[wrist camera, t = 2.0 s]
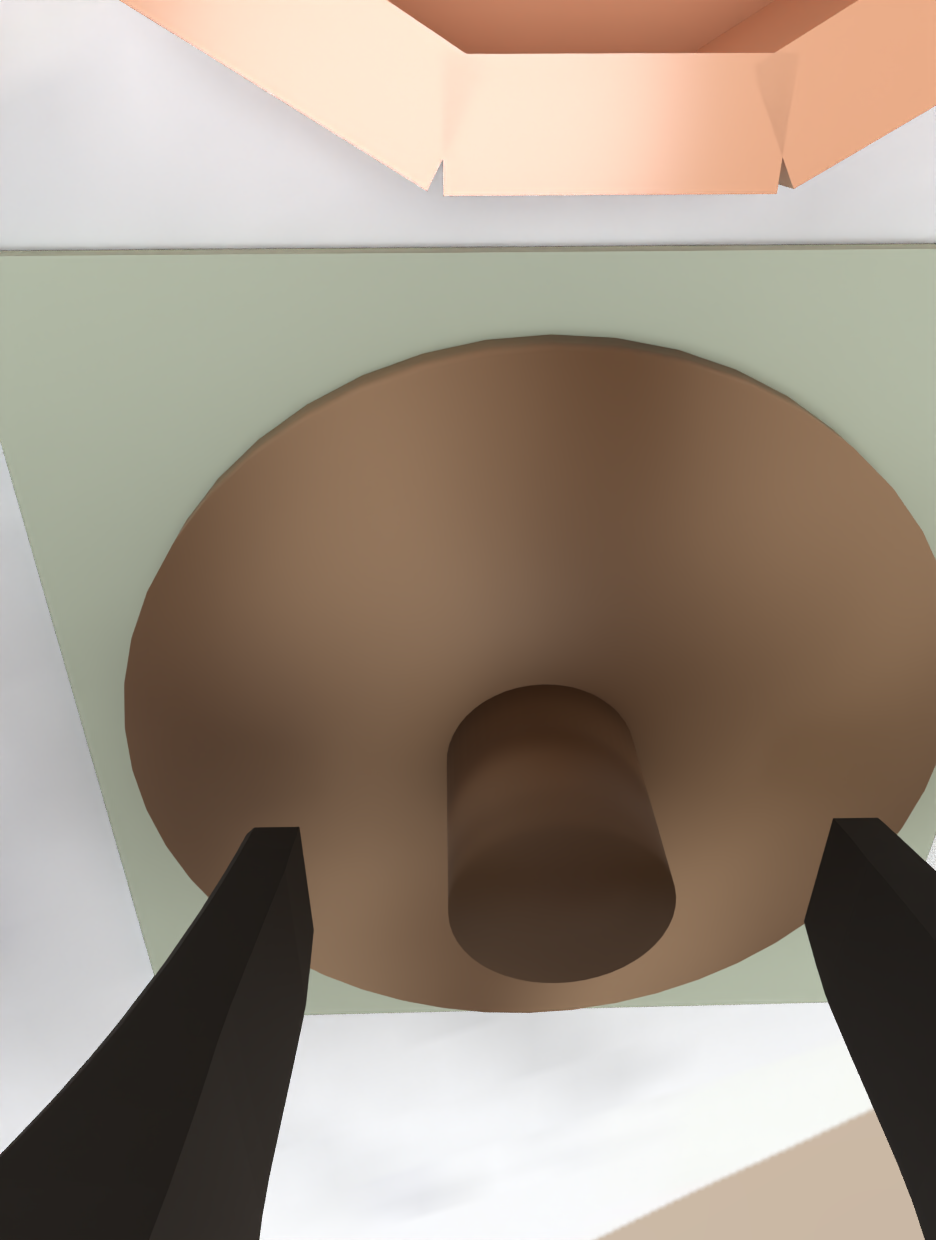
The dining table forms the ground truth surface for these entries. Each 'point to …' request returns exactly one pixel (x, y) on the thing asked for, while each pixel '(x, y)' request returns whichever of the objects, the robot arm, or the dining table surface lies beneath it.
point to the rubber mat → (357, 345)
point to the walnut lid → (539, 669)
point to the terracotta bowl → (583, 85)
